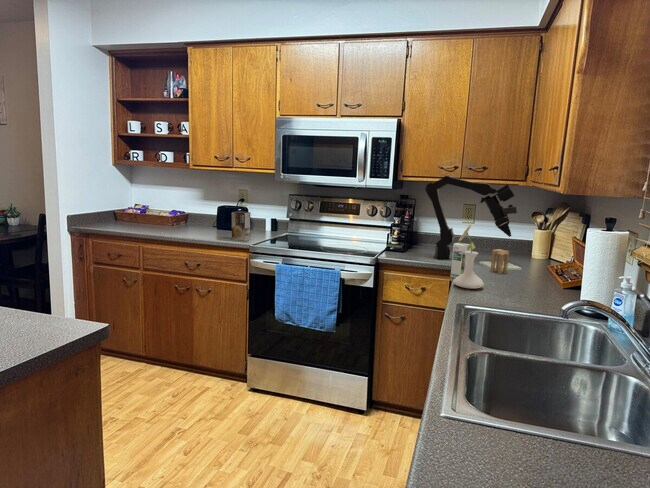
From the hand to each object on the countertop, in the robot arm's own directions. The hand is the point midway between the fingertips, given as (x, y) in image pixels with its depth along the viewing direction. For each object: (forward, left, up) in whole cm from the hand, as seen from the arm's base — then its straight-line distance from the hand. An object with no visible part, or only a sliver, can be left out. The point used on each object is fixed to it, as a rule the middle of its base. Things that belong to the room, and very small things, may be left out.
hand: (510, 235), depth 221 cm
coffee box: (-130, +62, -15) cm, 145 cm away
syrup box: (-35, -25, -15) cm, 46 cm away
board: (-5, -3, -15) cm, 16 cm away
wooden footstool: (-12, -15, -15) cm, 24 cm away
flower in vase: (-39, -41, -15) cm, 59 cm away
